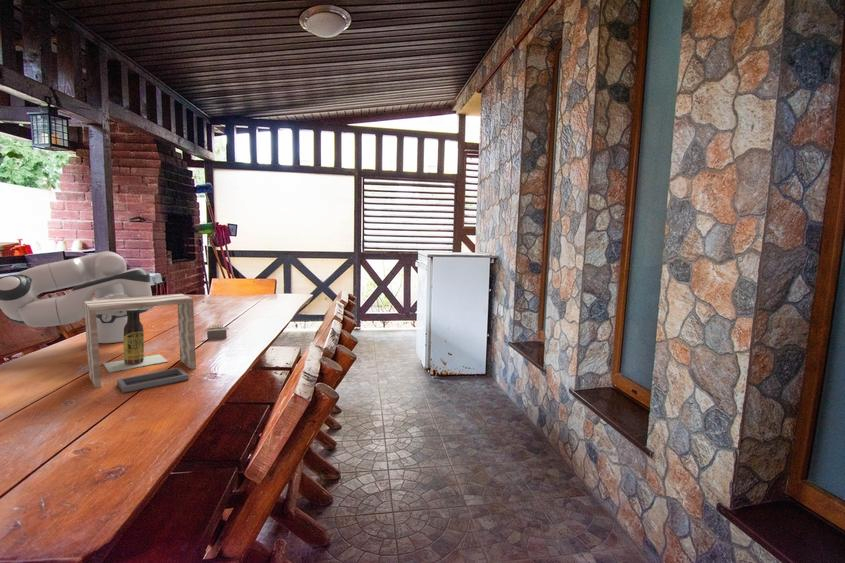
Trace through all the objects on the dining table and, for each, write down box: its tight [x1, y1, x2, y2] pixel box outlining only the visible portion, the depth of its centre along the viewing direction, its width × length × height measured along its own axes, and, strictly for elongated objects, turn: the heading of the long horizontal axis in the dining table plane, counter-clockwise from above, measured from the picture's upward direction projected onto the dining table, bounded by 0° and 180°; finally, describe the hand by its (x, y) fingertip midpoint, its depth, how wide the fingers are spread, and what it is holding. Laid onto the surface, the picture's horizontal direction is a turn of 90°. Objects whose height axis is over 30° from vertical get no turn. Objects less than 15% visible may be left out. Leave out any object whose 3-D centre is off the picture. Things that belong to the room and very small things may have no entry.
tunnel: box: [84, 293, 197, 389], centre depth 148 cm, size 14×29×26 cm, turn 134°
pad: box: [102, 353, 169, 373], centre depth 159 cm, size 12×18×1 cm, turn 134°
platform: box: [204, 324, 230, 340], centre depth 197 cm, size 12×18×7 cm, turn 117°
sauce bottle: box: [123, 309, 145, 364], centre depth 157 cm, size 7×6×20 cm
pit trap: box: [116, 367, 189, 394], centre depth 140 cm, size 10×18×2 cm, turn 134°
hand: (127, 307), depth 159 cm, fingers open, 8 cm apart
